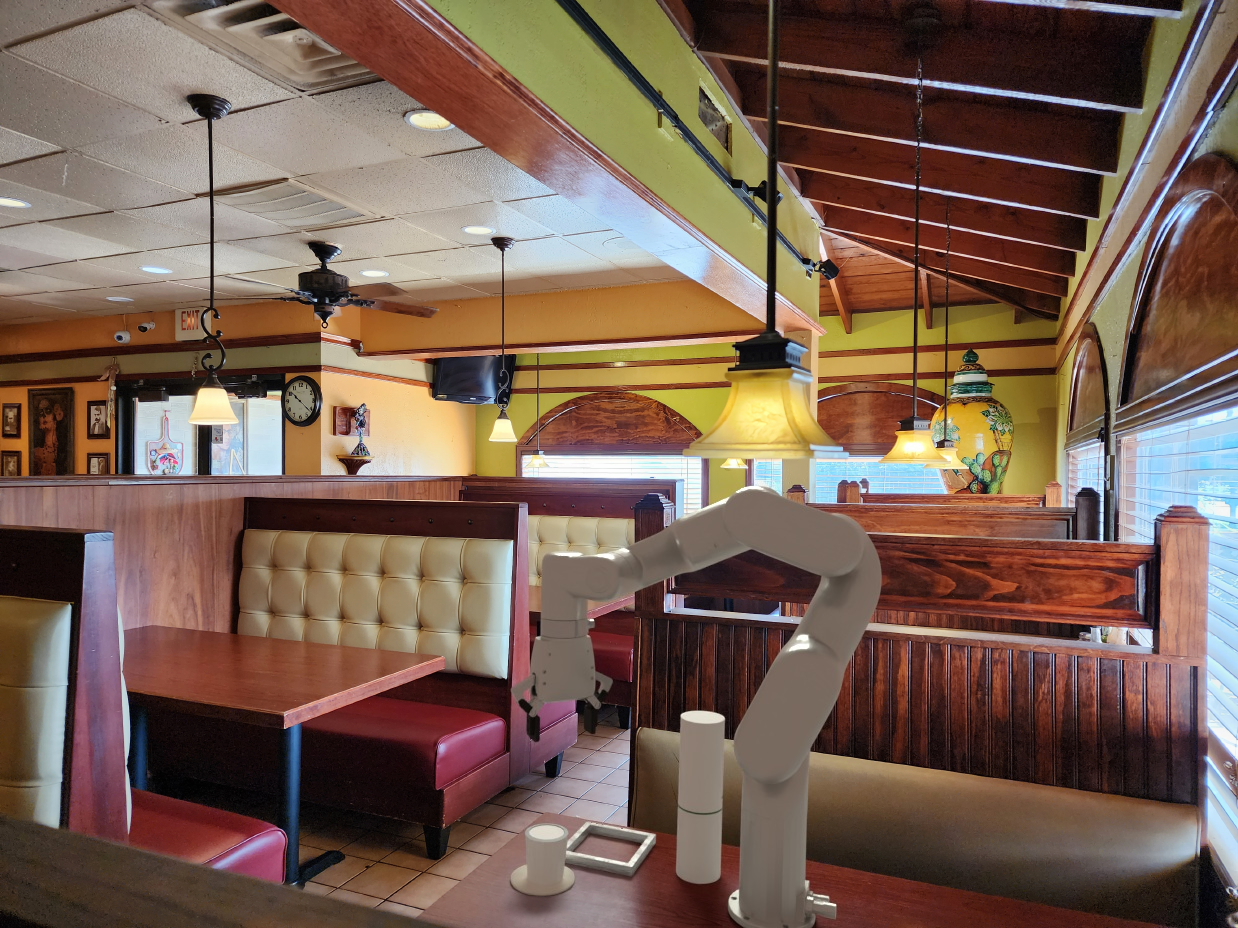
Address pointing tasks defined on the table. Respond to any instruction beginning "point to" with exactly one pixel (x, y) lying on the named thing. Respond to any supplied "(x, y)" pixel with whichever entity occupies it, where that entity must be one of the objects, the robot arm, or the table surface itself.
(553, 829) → the white cup
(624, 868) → the holder collar
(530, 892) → the cream flat disc
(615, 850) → the table surface
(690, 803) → the cylindrical container
